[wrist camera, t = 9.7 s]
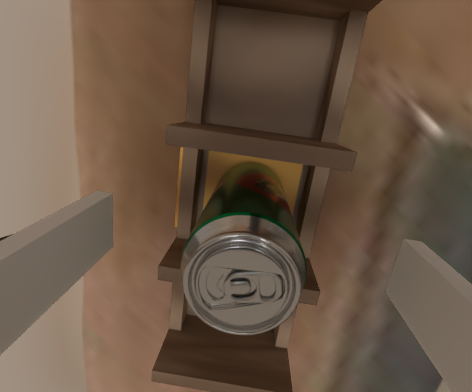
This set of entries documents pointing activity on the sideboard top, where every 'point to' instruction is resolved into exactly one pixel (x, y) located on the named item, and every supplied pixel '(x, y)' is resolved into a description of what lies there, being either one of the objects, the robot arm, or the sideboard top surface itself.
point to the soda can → (244, 255)
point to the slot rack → (257, 157)
